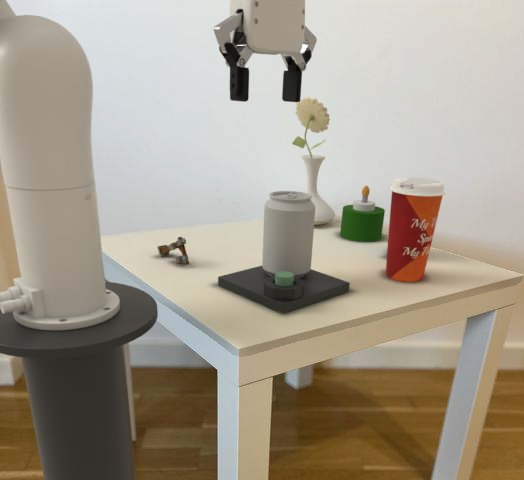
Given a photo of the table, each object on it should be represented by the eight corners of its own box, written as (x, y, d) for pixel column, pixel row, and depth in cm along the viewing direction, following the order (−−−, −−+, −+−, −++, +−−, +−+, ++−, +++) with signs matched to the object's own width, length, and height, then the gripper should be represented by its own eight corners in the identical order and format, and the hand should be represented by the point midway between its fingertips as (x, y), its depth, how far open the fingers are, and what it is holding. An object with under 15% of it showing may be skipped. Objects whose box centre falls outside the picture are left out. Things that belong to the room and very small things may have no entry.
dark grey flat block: (283, 313, 73) (284, 292, 72) (217, 285, 82) (217, 266, 81) (349, 291, 82) (351, 272, 81) (283, 267, 91) (284, 250, 90)
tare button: (284, 289, 74) (284, 278, 74) (270, 284, 76) (271, 273, 75) (297, 285, 76) (298, 274, 75) (284, 280, 78) (284, 269, 77)
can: (252, 273, 84) (254, 193, 78) (279, 262, 89) (282, 186, 84) (294, 284, 80) (299, 201, 74) (319, 271, 85) (325, 193, 80)
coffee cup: (414, 288, 84) (431, 188, 78) (369, 275, 89) (381, 180, 82) (439, 276, 90) (456, 182, 83) (395, 264, 95) (408, 174, 88)
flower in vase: (345, 225, 118) (358, 99, 107) (301, 231, 113) (310, 98, 102) (311, 213, 128) (319, 96, 117) (269, 217, 123) (274, 95, 112)
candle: (377, 243, 106) (384, 191, 102) (336, 238, 109) (340, 187, 104) (384, 233, 113) (390, 184, 109) (344, 229, 116) (349, 180, 111)
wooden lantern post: (185, 263, 88) (178, 236, 88) (163, 271, 95) (156, 245, 94) (195, 261, 89) (188, 234, 89) (172, 269, 96) (166, 243, 95)
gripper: (299, -34, 76) (291, 100, 84) (198, -57, 66) (199, 99, 74) (340, -40, 71) (327, 103, 79) (237, -66, 61) (234, 102, 69)
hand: (266, 101), depth 76 cm, fingers open, 9 cm apart
